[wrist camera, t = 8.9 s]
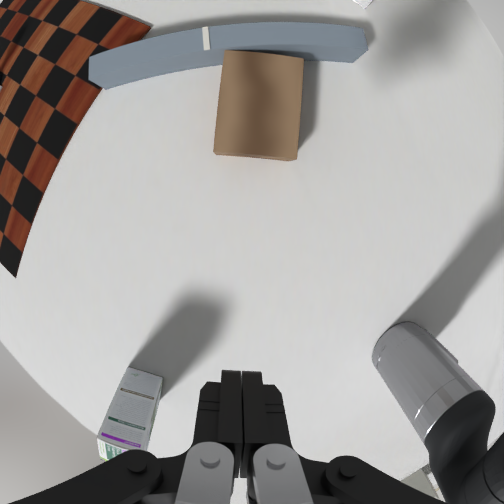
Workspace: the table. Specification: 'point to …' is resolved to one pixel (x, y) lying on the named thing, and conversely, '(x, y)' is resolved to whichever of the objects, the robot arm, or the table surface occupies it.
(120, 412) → the syrup box
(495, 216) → the table surface
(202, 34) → the board
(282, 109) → the block
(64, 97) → the chessboard
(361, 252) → the table surface
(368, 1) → the eraser
